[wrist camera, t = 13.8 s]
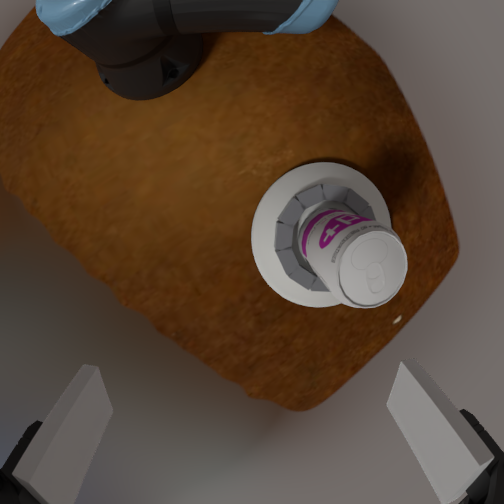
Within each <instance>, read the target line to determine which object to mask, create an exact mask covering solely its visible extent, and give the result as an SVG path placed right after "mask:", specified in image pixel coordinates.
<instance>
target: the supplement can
mask: <svg viewBox="0 0 504 504" xmlns="http://www.w3.org/2000/svg"><path fill="white" fill-rule="evenodd" d="M298 246H299V251H300V253H301V254H302V256H303V258H304V260H305V261H306V262H307V263H308V265H309V266H310V267H311V268H312V270H313V271H314V272H315V273H316V274H317V276H318V277H319V278H320V279H321V281H322V282H323V283H324V284H325V286H326V287H327V288H328V289H329V291H330V292H331V293H332V294H333V296H335V297H336V298H337V299H338V300H339V301H340V302H342V303H343V304H345V305H348V306H352V307H355V308H360V307H361V308H373V307H377V306H380V305H382V304H384V303H386V302H388V301H389V300H390V299H391V298H392V297H393V296H394V295H395V294H397V292H398V291H399V289H400V287H401V286H402V284H403V282H404V279H405V276H406V272H407V255H406V253H405V250H404V247H403V245H402V243H401V241H400V238H399V237H398V235H397V234H396V233H395V232H394V231H393V230H392V229H391V228H390V227H388V226H386V225H384V224H382V223H380V222H377V221H374V220H371V219H368V218H365V217H362V216H358V215H355V214H352V213H349V212H345V211H342V210H339V209H335V208H323V209H320V210H317V211H314V212H313V213H312V214H311V215H309V216H308V217H307V218H306V219H305V220H304V222H303V224H302V225H301V227H300V230H299V235H298Z"/></svg>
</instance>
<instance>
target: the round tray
mask: <svg viewBox="0 0 504 504" xmlns="http://www.w3.org/2000/svg"><path fill="white" fill-rule="evenodd" d="M323 208H335V209H339V210H342V211H345V212H349V213H352V214H355V215H358V216H362V217H365V218H368V219H371V220H374V221H377V222H380V223H382V224H384V225H386V226H388V227H390V228H391V221H390V215H389V212H388V208H387V206H386V203H385V201H384V199H383V197H382V195H381V194H380V192H379V190H378V189H377V188H376V187H375V185H374V184H373V183H372V182H371V181H370V180H369V179H368V178H367V177H365V176H364V175H363V174H361V173H360V172H358V171H356V170H354V169H352V168H350V167H347V166H345V165H341V164H337V163H329V162H320V163H312V164H307V165H303V166H300V167H298V168H295V169H293V170H291V171H289V172H287V173H286V174H284V175H283V176H281V177H280V178H279V179H277V180H276V181H275V182H274V183H273V184H272V185H271V186H270V187H269V189H268V190H267V191H266V193H265V194H264V195H263V197H262V199H261V200H260V202H259V204H258V207H257V209H256V211H255V215H254V218H253V223H252V230H251V242H252V250H253V255H254V258H255V262H256V264H257V267H258V269H259V271H260V273H261V275H262V276H263V278H264V279H265V281H266V282H267V283H268V284H269V286H270V287H271V288H272V289H274V290H275V291H276V292H277V293H278V294H280V295H281V296H282V297H284V298H286V299H288V300H289V301H291V302H294V303H297V304H300V305H304V306H309V307H327V306H333V305H337V304H340V303H342V302H340V301H339V300H338V299H337V298H336V297H335V296H333V294H332V293H331V292H330V291H329V289H328V288H327V287H326V286H325V284H324V283H323V282H322V281H321V279H320V278H319V277H318V276H317V274H316V273H315V272H314V271H313V270H312V268H311V267H310V266H309V265H308V263H307V262H306V261H305V260H304V258H303V256H302V254H301V253H300V251H299V246H298V235H299V230H300V227H301V225H302V224H303V222H304V220H305V219H306V218H307V217H308V216H309V215H311V214H312V213H313V212H314V211H317V210H320V209H323Z"/></svg>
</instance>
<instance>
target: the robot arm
mask: <svg viewBox="0 0 504 504" xmlns="http://www.w3.org/2000/svg"><path fill="white" fill-rule="evenodd" d="M338 1H339V0H36V12H37V15H38V17H39V18H40V20H41V21H42V22H44V23H45V24H46V25H47V26H48V27H49V28H50V30H51V31H52V32H53V34H55V35H57V36H59V37H61V38H62V39H64V40H65V41H67V42H68V43H69V44H71V45H72V46H74V47H75V48H77V49H78V50H80V51H81V52H82V53H84V54H85V55H87V56H88V57H89V58H91V59H92V60H94V61H95V63H96V66H97V69H98V73H99V75H100V78H101V80H102V81H103V83H104V84H105V85H106V86H107V87H108V88H109V89H110V90H111V91H113V92H114V93H116V94H117V95H119V96H121V97H123V98H126V99H130V100H149V99H154V98H157V97H160V96H163V95H165V94H167V93H169V92H171V91H173V90H175V89H176V88H178V87H179V86H180V85H181V84H183V83H184V82H185V81H186V80H187V79H188V78H189V77H190V76H191V75H192V73H193V72H194V71H195V69H196V67H197V66H198V64H199V62H200V59H201V56H202V51H203V41H202V36H201V33H210V32H263V33H264V34H268V35H271V34H275V33H292V34H305V33H309V32H311V31H313V30H316V29H318V28H319V27H321V26H322V25H323V24H324V23H325V22H326V21H327V19H328V18H329V17H330V15H331V14H332V12H333V11H334V9H335V7H336V5H337V3H338ZM386 405H387V407H388V409H389V411H390V412H391V414H392V415H393V417H394V419H395V421H396V422H397V424H398V426H399V428H400V429H401V431H402V433H403V435H404V436H405V438H406V440H407V442H408V443H409V445H410V447H411V449H412V451H413V452H414V454H415V456H416V458H417V459H418V461H419V463H420V465H421V467H422V468H423V470H424V472H425V474H426V476H427V478H428V479H429V481H430V483H431V485H432V487H433V489H434V491H435V493H436V494H437V496H438V498H439V500H440V502H441V504H448V503H450V502H452V501H454V500H456V499H458V498H459V497H460V496H461V495H462V494H463V493H464V492H465V491H466V492H467V494H468V495H467V496H466V497H465V498H464V499H463V500H462V501H461V502H460V503H459V504H504V452H503V451H502V450H501V449H500V448H499V446H498V445H497V444H496V442H495V441H494V440H493V439H492V437H491V436H490V435H489V434H488V432H487V431H486V430H484V427H483V426H482V425H481V424H479V421H478V420H477V419H476V418H475V416H474V415H473V414H471V413H469V412H468V411H466V410H465V409H462V410H460V411H459V410H458V409H457V408H456V407H455V406H454V405H453V403H452V402H451V401H450V399H449V398H448V397H447V396H446V395H445V393H444V392H443V391H442V390H441V389H440V387H439V386H438V385H437V384H436V383H435V382H434V380H433V379H432V378H431V377H430V376H429V374H428V373H427V372H426V371H425V370H424V369H423V367H422V366H421V365H420V364H419V363H418V362H417V361H416V359H414V358H413V359H408V360H403V361H401V363H400V366H399V369H398V372H397V376H396V379H395V382H394V385H393V388H392V391H391V394H390V396H389V399H388V402H387V404H386ZM112 413H113V408H112V406H111V403H110V400H109V398H108V395H107V392H106V389H105V386H104V384H103V380H102V377H101V374H100V371H99V368H98V366H92V365H85V364H84V365H83V366H82V367H81V369H80V370H79V371H78V373H77V374H76V375H75V377H74V378H73V380H72V381H71V383H70V384H69V385H68V387H67V388H66V390H65V391H64V392H63V394H62V395H61V397H60V398H59V400H58V401H57V403H56V404H55V406H54V407H53V409H52V410H51V412H50V413H49V415H48V416H47V418H46V419H45V421H44V422H40V421H36V422H34V423H33V424H32V425H31V426H29V427H28V428H27V430H26V431H25V433H24V434H23V437H22V438H21V439H20V440H19V442H18V445H16V446H15V448H14V449H13V451H12V453H11V454H10V456H9V457H8V459H7V461H6V462H5V464H4V465H3V467H2V468H1V469H0V504H74V503H75V500H76V497H77V495H78V492H79V490H80V487H81V485H82V482H83V480H84V477H85V475H86V473H87V470H88V468H89V465H90V463H91V461H92V458H93V456H94V454H95V451H96V449H97V447H98V444H99V442H100V440H101V438H102V435H103V433H104V431H105V429H106V427H107V424H108V422H109V420H110V418H111V416H112Z"/></svg>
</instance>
